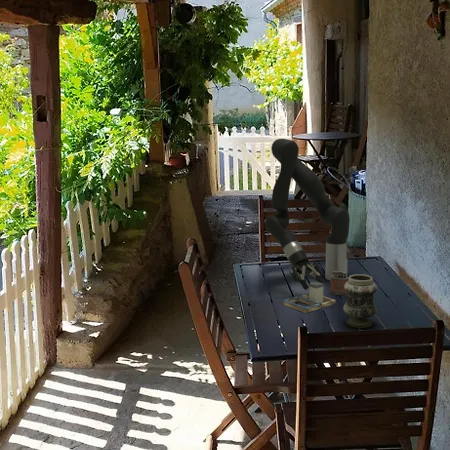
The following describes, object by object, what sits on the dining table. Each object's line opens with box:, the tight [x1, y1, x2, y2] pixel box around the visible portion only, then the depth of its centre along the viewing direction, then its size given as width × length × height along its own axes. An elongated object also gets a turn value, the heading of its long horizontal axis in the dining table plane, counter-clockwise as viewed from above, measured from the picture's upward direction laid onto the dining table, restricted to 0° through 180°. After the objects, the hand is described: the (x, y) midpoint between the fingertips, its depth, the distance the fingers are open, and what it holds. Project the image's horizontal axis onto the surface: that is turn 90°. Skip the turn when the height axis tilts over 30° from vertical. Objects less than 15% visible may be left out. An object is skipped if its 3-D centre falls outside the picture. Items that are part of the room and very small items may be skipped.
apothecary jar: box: [342, 273, 378, 329], centre depth 233 cm, size 12×12×18 cm
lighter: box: [329, 271, 350, 296], centre depth 268 cm, size 8×3×10 cm, turn 71°
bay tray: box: [282, 293, 336, 314], centre depth 256 cm, size 17×13×2 cm
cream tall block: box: [308, 281, 324, 303], centre depth 258 cm, size 4×4×8 cm
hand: (314, 286), depth 258 cm, fingers open, 8 cm apart
